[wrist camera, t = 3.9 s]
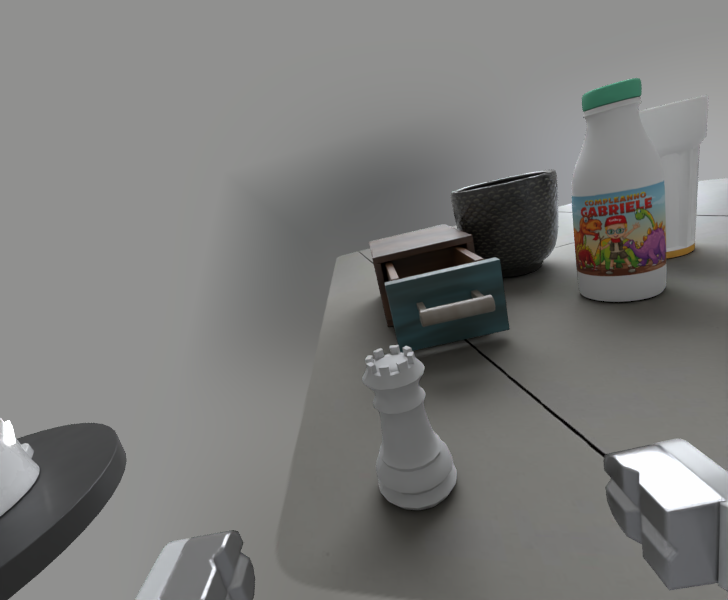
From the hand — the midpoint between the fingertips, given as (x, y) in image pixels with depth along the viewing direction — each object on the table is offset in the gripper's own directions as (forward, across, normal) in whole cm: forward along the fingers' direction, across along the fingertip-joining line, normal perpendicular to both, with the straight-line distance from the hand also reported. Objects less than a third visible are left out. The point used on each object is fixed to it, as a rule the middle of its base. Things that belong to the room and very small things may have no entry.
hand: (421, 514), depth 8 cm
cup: (+43, -36, +9) cm, 57 cm away
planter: (+49, -20, +9) cm, 54 cm away
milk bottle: (+32, -25, +10) cm, 42 cm away
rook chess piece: (+11, 0, +9) cm, 15 cm away
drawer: (+31, -6, +8) cm, 33 cm away
